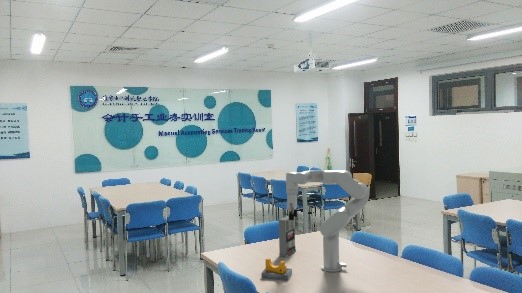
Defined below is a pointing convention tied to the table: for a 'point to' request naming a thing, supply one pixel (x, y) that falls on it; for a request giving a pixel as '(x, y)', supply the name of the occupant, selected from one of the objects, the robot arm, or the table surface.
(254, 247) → the table surface
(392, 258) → the table surface
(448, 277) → the table surface
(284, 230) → the cassette tape recorder
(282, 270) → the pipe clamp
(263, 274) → the slate stand
